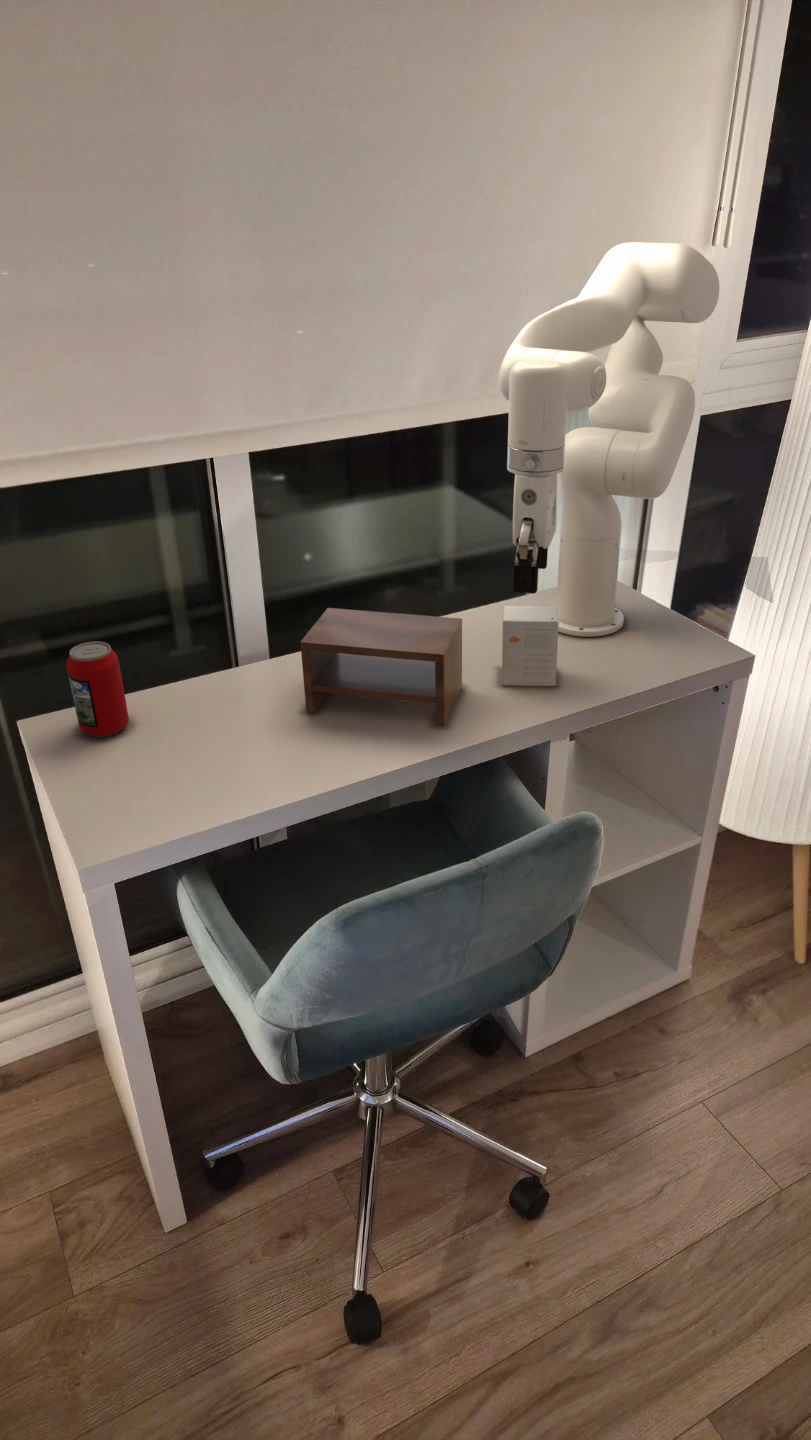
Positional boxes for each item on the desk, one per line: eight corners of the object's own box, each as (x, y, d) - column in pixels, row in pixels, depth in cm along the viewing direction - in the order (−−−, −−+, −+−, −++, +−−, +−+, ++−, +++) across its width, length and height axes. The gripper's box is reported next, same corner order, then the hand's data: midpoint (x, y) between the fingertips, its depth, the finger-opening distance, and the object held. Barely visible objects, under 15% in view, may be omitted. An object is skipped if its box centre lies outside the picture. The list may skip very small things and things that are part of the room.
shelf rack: (332, 675, 157) (327, 607, 151) (462, 687, 152) (462, 618, 147) (306, 712, 146) (300, 641, 141) (444, 727, 142) (443, 654, 136)
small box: (555, 670, 156) (558, 605, 151) (556, 687, 151) (559, 621, 146) (501, 668, 157) (503, 604, 152) (500, 685, 152) (502, 619, 147)
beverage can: (76, 722, 146) (60, 644, 140) (125, 712, 148) (111, 635, 142) (83, 744, 140) (67, 664, 134) (134, 733, 142) (120, 654, 137)
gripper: (555, 477, 130) (548, 604, 138) (571, 443, 144) (564, 560, 153) (496, 474, 131) (493, 600, 140) (518, 441, 146) (514, 557, 154)
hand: (530, 579), depth 146 cm, fingers open, 9 cm apart
